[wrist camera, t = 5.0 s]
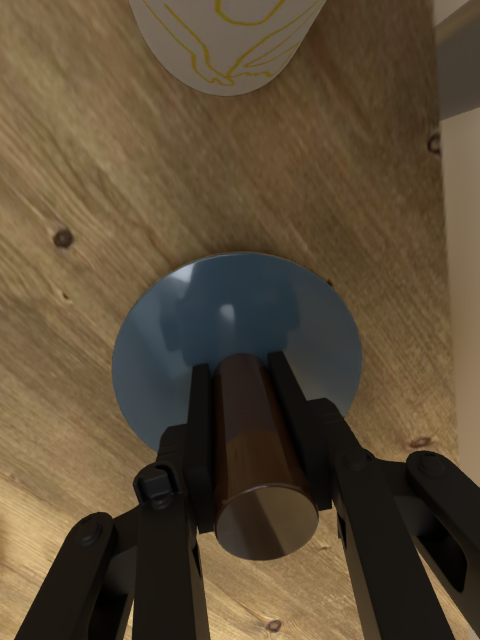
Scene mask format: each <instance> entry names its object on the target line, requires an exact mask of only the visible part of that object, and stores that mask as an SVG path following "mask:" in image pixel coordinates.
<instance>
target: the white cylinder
mask: <svg viewBox="0 0 480 640" xmlns="http://www.w3.org/2000/svg"><path fill="white" fill-rule="evenodd" d="M128 1H129V4H130V6H131V9H132V12H133V14H134V17H135V19H136V22H137V24H138V27H139V29H140V31H141V34H142V36H143V38H144V40H145V41H146V43H147V45H148V47H149V48H150V50H151V51H152V53H153V54H154V56H155V57H156V58H157V59H158V61H159V62H160V63H161V64H162V65H163V66H164V67H165V69H166V70H168V71H169V72H170V73H171V74H172V75H173V76H174V77H176V78H177V79H178V80H180V81H181V82H182V83H184V84H186V85H187V86H189V87H191V88H193V89H195V90H198V91H200V92H203V93H207V94H210V95H216V96H237V95H242V94H246V93H249V92H252V91H254V90H256V89H258V88H260V87H262V86H264V85H265V84H267V83H268V82H270V81H271V80H273V79H274V78H275V77H276V76H277V75H278V74H279V73H280V72H281V71H282V70H283V69H284V68H285V67H286V65H287V64H288V63H289V62H290V60H291V59H292V57H293V56H294V54H295V52H296V51H297V49H298V47H299V46H300V44H301V42H302V41H303V39H304V37H305V36H306V34H307V32H308V31H309V29H310V27H311V26H312V24H313V22H314V20H315V19H316V17H317V15H318V14H319V12H320V10H321V9H322V7H323V5H324V4H325V2H326V0H128Z"/></svg>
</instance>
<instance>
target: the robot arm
mask: <svg viewBox="0 0 480 640" xmlns="http://www.w3.org/2000/svg"><path fill="white" fill-rule="evenodd" d="M267 354H268V361H269V369H270V374H271V377H272V380H273V383H274V386H275V388H276V391H277V394H278V397H279V400H280V402H281V405H282V408H283V411H284V414H285V417H286V419H287V422H288V425H289V428H290V431H291V434H292V436H293V439H294V442H295V445H296V448H297V450H298V453H299V456H300V459H301V462H302V465H303V467H304V470H305V473H306V476H307V479H308V481H309V484H310V487H311V490H312V493H313V496H314V498H315V501H316V504H317V507H318V511H322V510H327V509H332V500H333V503H334V505H335V507H336V510H337V526H338V538H341V540H342V544H343V549H344V553H345V557H346V562H347V566H348V570H349V575H350V579H351V583H352V588H353V592H354V596H355V600H356V605H357V609H358V613H359V618H360V622H361V626H362V631H363V635H364V639H365V640H455V638H454V635H453V633H452V631H451V628H450V626H449V624H448V622H447V619H446V617H445V615H444V612H443V610H442V608H441V605H440V603H439V601H438V599H437V596H436V594H435V592H434V589H433V587H432V585H431V582H430V580H429V578H428V576H427V573H426V571H425V569H424V566H423V564H422V562H421V559H420V557H419V555H418V553H417V550H418V551H419V553H420V554H421V555H422V557H423V558H424V560H425V561H426V563H427V564H428V566H429V567H430V568H431V570H432V571H433V573H434V574H435V576H436V577H437V579H438V580H439V581H440V583H441V584H442V586H443V587H444V589H445V590H446V591H447V593H448V594H449V596H450V597H451V599H452V600H453V602H454V603H455V604H456V606H457V607H458V609H459V610H460V612H461V613H462V615H463V616H464V617H465V619H466V620H467V622H468V623H469V625H470V626H471V627H472V629H473V630H474V631H475V633H476V634H477V636H478V637H479V639H480V488H479V487H478V486H477V485H476V484H475V483H474V482H473V481H472V480H471V479H470V478H468V477H467V476H466V475H465V474H464V473H463V472H462V471H461V470H460V469H459V468H458V467H457V466H456V465H455V464H454V463H453V462H451V461H450V460H449V459H447V458H446V457H444V456H443V455H440V454H438V453H435V452H431V451H425V450H424V451H416V452H414V453H412V454H410V455H409V456H408V458H407V459H406V463H405V462H393V461H385V460H381V459H378V458H375V456H374V455H373V454H372V453H371V452H369V451H368V450H366V449H364V448H362V447H361V445H360V444H359V442H358V440H357V439H356V437H355V436H354V434H353V432H352V431H351V429H350V427H349V426H348V424H347V423H346V421H345V420H344V418H343V416H342V415H341V414H340V411H339V410H338V408H337V406H336V405H335V404H334V403H333V402H332V401H330V400H329V399H327V398H326V397H324V398H319V399H313V400H308V401H307V400H306V398H305V396H304V394H303V392H302V390H301V388H300V386H299V384H298V382H297V380H296V377H295V375H294V373H293V371H292V369H291V367H290V365H289V363H288V361H287V359H286V357H285V355H284V353H283V351H279V352H273V353H267ZM133 487H134V490H135V493H136V496H137V499H138V501H139V505H138V506H136V507H135V508H133V509H132V510H130V511H128V512H126V513H124V514H122V515H120V516H118V517H116V518H114V519H112V516H110V515H109V514H108V513H106V512H97V513H93V514H90V515H88V516H86V517H85V518H83V519H81V520H80V521H79V522H78V523H77V524H76V525H75V526H73V528H72V529H71V531H70V532H69V533H68V535H67V537H66V539H65V541H64V543H63V544H62V546H61V548H60V550H59V552H58V554H57V556H56V558H55V560H54V562H53V564H52V566H51V568H50V570H49V572H48V574H47V576H46V578H45V580H44V582H43V584H42V586H41V588H40V590H39V592H38V594H37V596H36V597H35V599H34V601H33V603H32V605H31V607H30V609H29V611H28V613H27V615H26V617H25V619H24V621H23V623H22V625H21V627H20V629H19V631H18V633H17V635H16V637H15V639H14V640H123V638H124V634H125V630H126V626H127V623H128V619H129V615H130V611H131V607H132V604H133V600H134V610H133V627H132V640H210V632H209V623H208V615H207V607H206V599H205V591H204V583H203V575H202V567H201V559H200V551H199V546H198V543H197V539H196V535H197V527H198V530H199V534H202V533H207V532H213V531H214V507H213V430H212V381H211V376H210V371H209V367H208V364H205V365H199V366H193V368H192V378H191V388H190V398H189V408H188V418H187V423H185V424H180V425H174V426H169V427H167V429H166V430H165V431H164V433H163V434H162V436H161V439H160V444H159V449H158V454H157V458H156V462H154V463H152V464H149V465H147V466H146V467H144V468H143V469H142V470H141V471H140V472H139V473H138V474H137V475H136V477H135V479H134V482H133ZM414 545H415V546H414ZM415 547H416V548H417V550H416V548H415Z"/></svg>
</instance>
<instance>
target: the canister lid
mask: <svg viewBox="0 0 480 640" xmlns="http://www.w3.org/2000/svg"><path fill="white" fill-rule="evenodd" d="M279 351H283V353H284V355H285V357H286V359H287V361H288V363H289V365H290V367H291V369H292V371H293V373H294V375H295V377H296V380H297V382H298V384H299V386H300V388H301V390H302V392H303V394H304V396H305V398H306V400H307V401H308V400H313V399H319V398H324V397H326V398H327V399H329V400H330V401H332V402H333V403H334V404H335V405H336V406H337V408H338V410H339V411H340V414H341V415H342V416H343V418H344V416H345V415H346V413H347V412H348V410H349V408H350V406H351V404H352V402H353V400H354V398H355V395H356V392H357V389H358V386H359V382H360V377H361V372H362V348H361V340H360V336H359V332H358V328H357V326H356V323H355V321H354V318H353V316H352V314H351V312H350V310H349V309H348V307H347V305H346V304H345V302H344V301H343V299H342V298H341V297H340V296H339V295H338V293H337V292H336V291H335V290H334V289H333V288H332V287H331V286H330V285H329V284H328V283H327V282H326V281H324V280H323V279H322V278H321V277H319V276H318V275H316V274H315V273H313V272H312V271H310V270H309V269H307V268H306V267H304V266H302V265H300V264H298V263H296V262H293V261H291V260H289V259H286V258H283V257H279V256H276V255H273V254H267V253H261V252H252V251H232V252H222V253H216V254H212V255H208V256H204V257H200V258H198V259H195V260H192V261H190V262H187V263H184V264H183V265H181V266H179V267H177V268H175V269H173V270H172V271H170V272H168V273H167V274H165V275H164V276H163V277H161V278H160V279H159V280H157V281H156V282H154V283H153V284H152V285H151V286H150V287H149V288H148V289H147V290H146V291H145V292H144V293H143V294H142V295H141V297H140V298H139V299H138V301H137V302H136V303H135V304H134V306H133V307H132V308H131V310H130V311H129V313H128V315H127V317H126V318H125V320H124V322H123V324H122V325H121V328H120V331H119V333H118V336H117V339H116V342H115V347H114V351H113V356H112V380H113V388H114V392H115V396H116V399H117V402H118V405H119V407H120V409H121V412H122V414H123V416H124V418H125V419H126V421H127V423H128V424H129V426H130V427H131V428H132V430H133V431H134V432H135V433H136V435H137V436H138V437H139V438H140V439H141V440H142V441H143V442H144V443H145V444H146V445H147V446H148V447H149V448H151V449H152V450H154V451H155V452H156V453H158V449H159V444H160V439H161V436H162V434H163V433H164V431H165V430H166V429H167V427H169V426H174V425H180V424H185V423H187V418H188V408H189V398H190V388H191V378H192V368H193V366H199V365H205V364H208V367H209V371H210V376H211V381H212V430H213V507H214V533H215V536H216V538H217V540H218V542H219V544H220V545H221V546H222V548H223V549H224V550H226V551H227V552H228V553H230V554H231V555H233V556H235V557H238V558H241V559H244V560H249V561H270V560H275V559H279V558H282V557H285V556H288V555H290V554H292V553H294V552H296V551H297V550H299V549H300V548H302V547H303V546H304V545H305V544H306V543H307V542H308V541H309V540H310V539H311V538H312V536H313V535H314V533H315V531H316V529H317V526H318V521H319V511H318V507H317V504H316V501H315V498H314V496H313V493H312V490H311V487H310V484H309V481H308V479H307V476H306V473H305V470H304V467H303V465H302V462H301V459H300V456H299V453H298V450H297V448H296V445H295V442H294V439H293V436H292V434H291V431H290V428H289V425H288V422H287V419H286V417H285V414H284V411H283V408H282V405H281V402H280V400H279V397H278V394H277V391H276V388H275V386H274V383H273V380H272V377H271V374H270V369H269V361H268V354H267V353H273V352H279Z"/></svg>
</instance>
